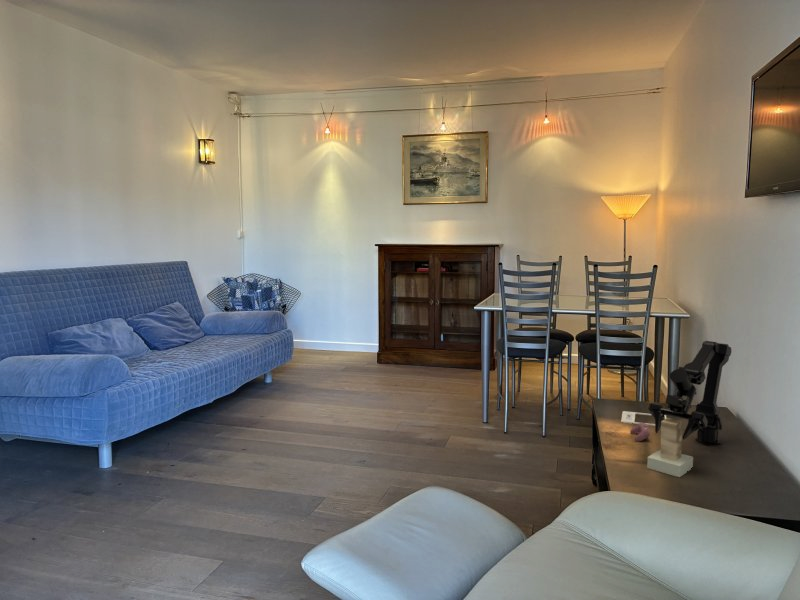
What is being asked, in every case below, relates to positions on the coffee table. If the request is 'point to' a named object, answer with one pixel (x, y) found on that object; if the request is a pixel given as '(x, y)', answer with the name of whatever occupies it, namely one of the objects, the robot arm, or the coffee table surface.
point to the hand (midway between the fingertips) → (669, 435)
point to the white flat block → (670, 464)
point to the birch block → (671, 439)
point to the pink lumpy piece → (641, 431)
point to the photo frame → (633, 417)
